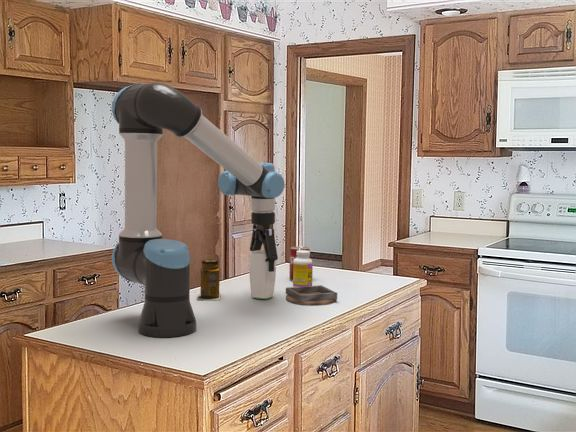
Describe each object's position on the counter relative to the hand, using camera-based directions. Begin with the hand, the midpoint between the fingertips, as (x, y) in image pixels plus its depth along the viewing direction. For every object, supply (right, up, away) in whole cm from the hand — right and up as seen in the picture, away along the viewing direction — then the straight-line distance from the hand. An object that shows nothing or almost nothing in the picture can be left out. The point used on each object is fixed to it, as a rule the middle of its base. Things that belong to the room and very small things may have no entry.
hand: (263, 277), depth 218 cm
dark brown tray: (+15, -7, -1) cm, 17 cm away
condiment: (-17, -7, 0) cm, 19 cm away
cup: (0, -7, +1) cm, 7 cm away
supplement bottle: (+13, -5, +16) cm, 21 cm away
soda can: (+12, -4, +30) cm, 32 cm away
